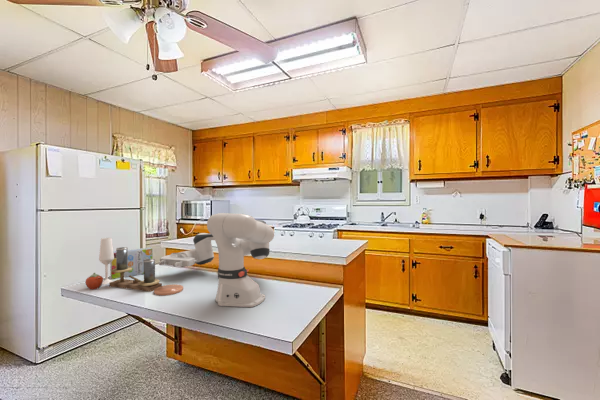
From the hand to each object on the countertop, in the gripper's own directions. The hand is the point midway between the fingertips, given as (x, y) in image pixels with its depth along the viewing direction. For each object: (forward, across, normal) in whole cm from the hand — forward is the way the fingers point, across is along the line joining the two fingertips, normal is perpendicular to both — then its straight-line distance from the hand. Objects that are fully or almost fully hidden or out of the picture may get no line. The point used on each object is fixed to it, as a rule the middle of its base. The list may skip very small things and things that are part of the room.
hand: (167, 264), depth 156 cm
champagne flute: (+11, +30, -10) cm, 33 cm away
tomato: (+20, +27, -10) cm, 35 cm away
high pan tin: (+12, +18, -1) cm, 22 cm away
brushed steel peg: (+12, 0, -6) cm, 14 cm away
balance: (+12, +9, -10) cm, 18 cm away
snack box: (-5, +30, -10) cm, 32 cm away
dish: (+12, -12, -10) cm, 20 cm away
